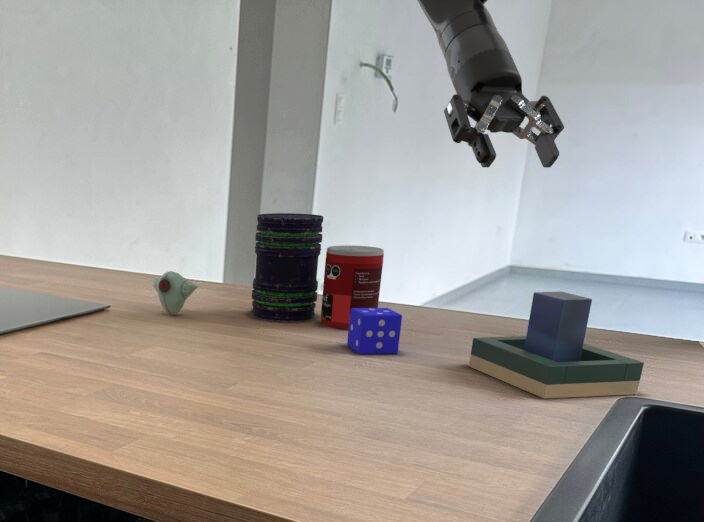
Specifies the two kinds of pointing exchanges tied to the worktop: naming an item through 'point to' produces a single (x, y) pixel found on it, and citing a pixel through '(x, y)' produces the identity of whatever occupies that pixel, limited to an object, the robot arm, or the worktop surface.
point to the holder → (556, 369)
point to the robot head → (173, 291)
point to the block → (557, 326)
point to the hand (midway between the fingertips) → (521, 162)
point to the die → (374, 330)
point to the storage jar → (286, 266)
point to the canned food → (350, 282)
